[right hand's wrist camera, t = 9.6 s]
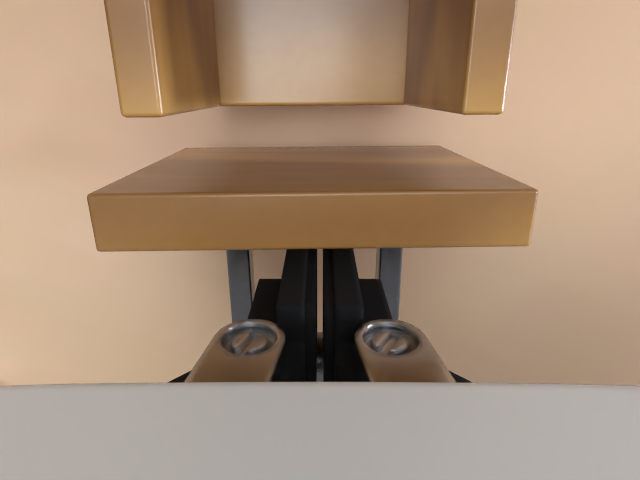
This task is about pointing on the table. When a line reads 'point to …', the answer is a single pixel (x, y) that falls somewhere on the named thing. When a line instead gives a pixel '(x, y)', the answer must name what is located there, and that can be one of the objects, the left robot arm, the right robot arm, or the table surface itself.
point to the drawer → (311, 162)
